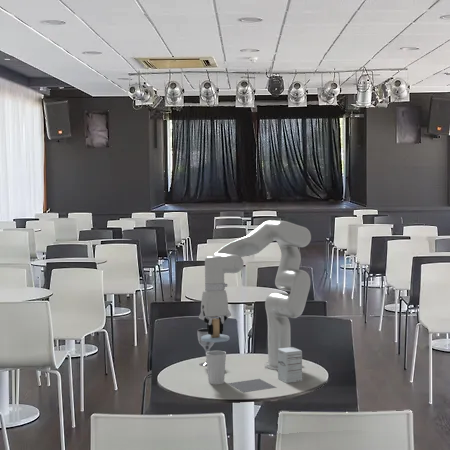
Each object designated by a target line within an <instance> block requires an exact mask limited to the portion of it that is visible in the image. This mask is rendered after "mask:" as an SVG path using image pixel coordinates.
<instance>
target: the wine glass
mask: <svg viewBox="0 0 450 450" xmlns="http://www.w3.org/2000/svg"><path fill="white" fill-rule="evenodd" d="M204 335H208V332H207V327H206V328H205V327H202V328H199V329H197V340H198V343H199V345H200V346H201V347H202V348H203V349H204V352H205V353H206V352H209V351H211V348H212V347H213V346H214V344H215V343H216V342H205V341H202V340H201V337H202V336H204ZM199 366H200V367H207V360H205V362H200V363H199Z"/></svg>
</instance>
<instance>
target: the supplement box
mask: <svg viewBox="0 0 450 450" xmlns="http://www.w3.org/2000/svg"><path fill="white" fill-rule="evenodd" d="M277 380H280V381H282V382H284V383H286V384H290V383H295V382H297V383H298V382H303V351H302V350H301V349H299V348H296V347H294V346H291V347H288V348H280V349H278V370H277Z"/></svg>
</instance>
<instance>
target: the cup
mask: <svg viewBox="0 0 450 450" xmlns="http://www.w3.org/2000/svg"><path fill="white" fill-rule="evenodd" d="M226 357H227V352H226V351H223V350H209V352H206V351H205V359H206V360H207V366H206V368H207V380H208V381H207V382H208V384H211V385H222V384H224V383H225V378H226V377H225V374H226V361H227V360H226V359H227V358H226ZM206 360H205V361H206Z"/></svg>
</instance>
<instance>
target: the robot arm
mask: <svg viewBox="0 0 450 450" xmlns="http://www.w3.org/2000/svg"><path fill="white" fill-rule="evenodd" d="M311 240H312V234H311V231H310V230H309V229H308V228H307V227H306V226H302V225H299V224H296V223H293V222H290V221H286V220H279V219H277V220H275V219H268V220H266V221H263V222H262V223H261V224H260V225H258V226H257V227H256V228H255V229H253V230H251V232H249V233H248V234H247V235H246V236H243V237H241V238H238V239H236V240H234V241H231V242H229V243H227V244H226V245H225V244H224V245H223V246H222V247H221V248H219V249H218V250H217V251H216V252H215V253H214V254H213V255H207V256H206V257H205V258H204V289H205V290H203V291H202V295H201V303H200V313H199V316H198V319H200V320H202V321H203V322H204V323H205V324H206V328H207V332H208V334H210V335H213V325H212V319H213V318H215V317H217V318H218V319H220V334H223V332H224V324H225V322H226V321H227V319H228V318H230V317H231V316H232V313H231V312H230V310H229V302H228V295H227V291H226V290H225V289H226V288H227V287H228V283H226V282H225V274H238V273H239V272H241V271H242V270H243V268H244V262H245V261H244V260H243V257H250V256H254V255H257V254H259V253H261V252H262V251H263V250H264V249H265V248H267V247H268V246H269V245H270V244H271V243H273V242H274V241H276V243H277V245H278V247H279V249H280V253H281V254H280V256H281V257H280V261H279V264H278V268H277V272H276V276H275V279H274V284H275V287H276V288H277V289H278V290H281V291H286V292H290V293H286V292H284V293H283V292H272V293H270V294H269V295H267V297H266V298H265V302H264V306H265V312H266V319H267V362H265V363H264V367H265V369H269V370H275V371H278V349H280V348H288V347H292V345H291V322H290V319H289V318H291V319H297V318H299V317H301V315H302V314H303V312H304V310H305V307H306V305H307V304H306V303H307V301H308V300H307V299H308V296H309V292H310V289H311V277H310V274H309V273H308V272H307V271H305V270H303V269H300V265H301V261H302V260H301V259H302V257H301V253H300V249H299V248H305V247H307V246H308V245H309V244H310V243H311Z"/></svg>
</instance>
